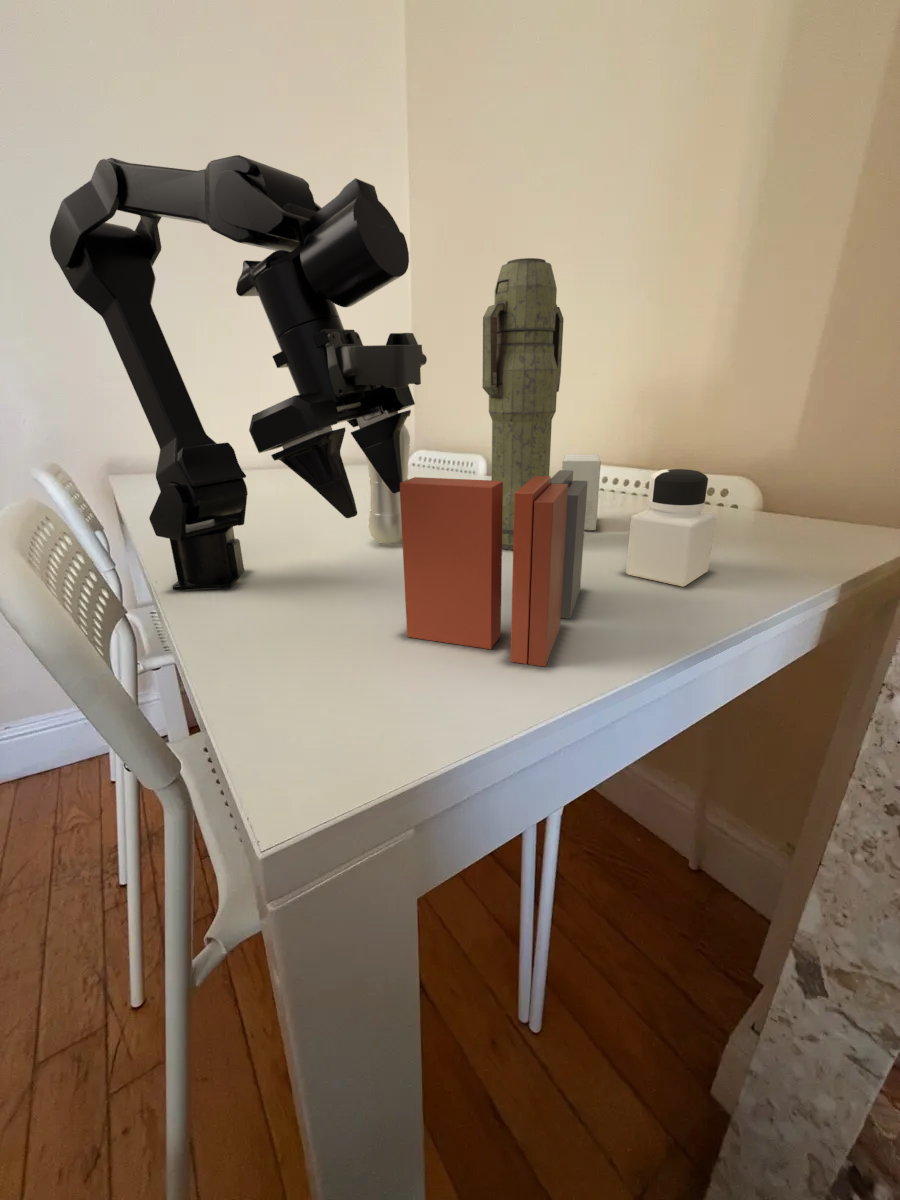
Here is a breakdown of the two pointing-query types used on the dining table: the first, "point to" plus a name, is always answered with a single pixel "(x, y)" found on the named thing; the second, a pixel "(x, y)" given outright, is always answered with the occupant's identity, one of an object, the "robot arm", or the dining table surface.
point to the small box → (587, 471)
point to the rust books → (537, 569)
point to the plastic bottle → (387, 499)
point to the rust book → (452, 559)
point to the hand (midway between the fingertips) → (376, 503)
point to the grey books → (572, 539)
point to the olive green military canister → (521, 376)
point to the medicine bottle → (672, 529)
